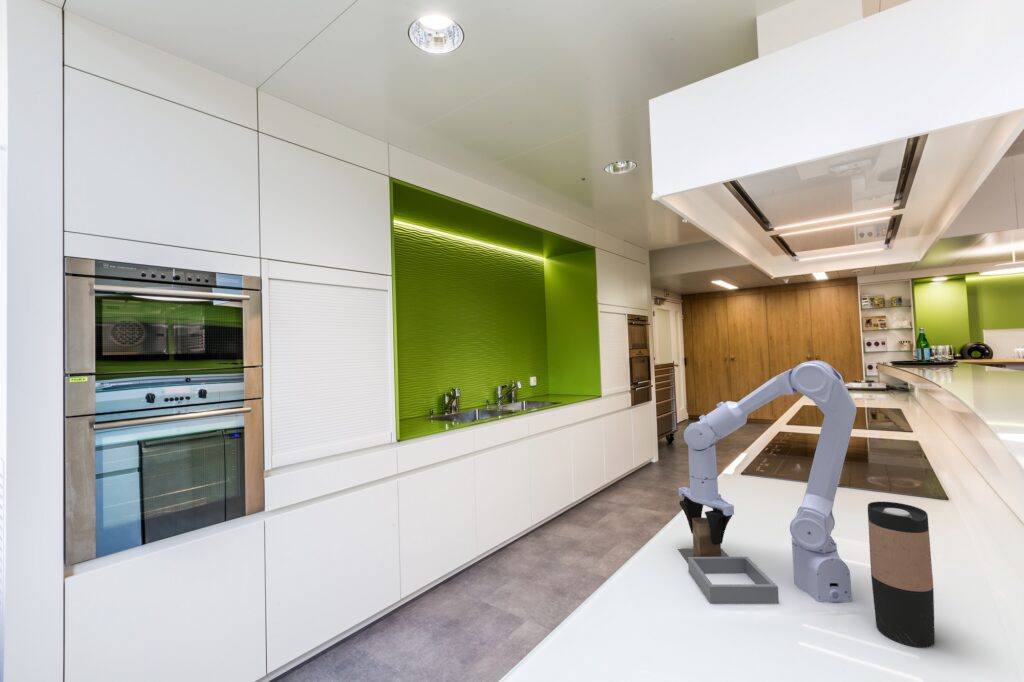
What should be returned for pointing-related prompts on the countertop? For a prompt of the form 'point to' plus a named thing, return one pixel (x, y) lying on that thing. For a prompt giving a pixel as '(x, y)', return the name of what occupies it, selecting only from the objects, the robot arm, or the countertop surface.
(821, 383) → the robot arm
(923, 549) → the travel mug
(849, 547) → the countertop surface
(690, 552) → the stud plate
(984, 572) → the countertop surface
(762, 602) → the charcoal bin
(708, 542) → the walnut strut
